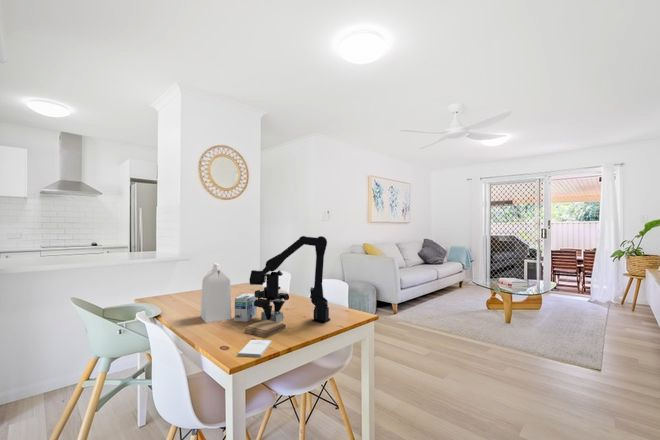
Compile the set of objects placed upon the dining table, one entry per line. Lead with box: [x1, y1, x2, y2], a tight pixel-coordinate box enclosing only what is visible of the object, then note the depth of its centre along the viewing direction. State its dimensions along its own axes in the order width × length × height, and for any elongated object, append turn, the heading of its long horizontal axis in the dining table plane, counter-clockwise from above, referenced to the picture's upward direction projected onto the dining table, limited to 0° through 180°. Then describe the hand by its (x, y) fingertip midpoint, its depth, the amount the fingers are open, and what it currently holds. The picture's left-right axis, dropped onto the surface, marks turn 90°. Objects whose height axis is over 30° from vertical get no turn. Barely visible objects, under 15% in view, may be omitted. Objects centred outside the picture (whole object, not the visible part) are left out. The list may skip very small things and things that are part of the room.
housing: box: [260, 309, 284, 323], centre depth 139 cm, size 9×5×5 cm, turn 59°
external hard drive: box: [237, 339, 272, 358], centre depth 106 cm, size 2×8×12 cm
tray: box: [244, 320, 287, 339], centre depth 125 cm, size 12×12×2 cm
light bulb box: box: [234, 293, 258, 323], centre depth 143 cm, size 11×7×11 cm, turn 168°
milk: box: [200, 262, 233, 324], centre depth 143 cm, size 12×12×26 cm
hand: (272, 318), depth 139 cm, fingers open, 5 cm apart
